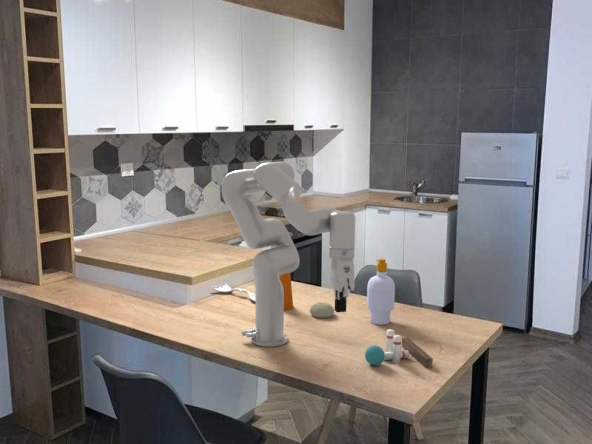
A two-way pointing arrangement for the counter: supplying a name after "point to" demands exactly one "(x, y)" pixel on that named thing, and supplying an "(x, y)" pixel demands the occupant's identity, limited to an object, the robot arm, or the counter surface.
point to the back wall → (417, 352)
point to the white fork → (227, 289)
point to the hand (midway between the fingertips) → (340, 311)
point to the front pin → (390, 355)
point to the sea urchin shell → (322, 310)
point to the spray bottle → (287, 290)
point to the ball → (374, 355)
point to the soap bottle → (380, 295)
